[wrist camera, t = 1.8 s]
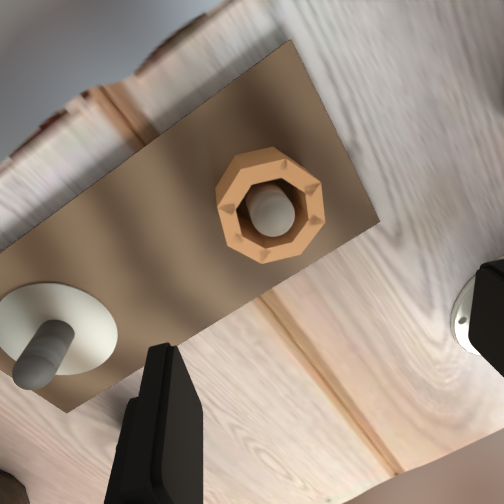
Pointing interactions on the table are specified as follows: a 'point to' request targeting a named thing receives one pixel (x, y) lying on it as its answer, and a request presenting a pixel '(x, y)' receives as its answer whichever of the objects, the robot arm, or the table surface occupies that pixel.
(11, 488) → the pitcher
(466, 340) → the robot arm
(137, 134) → the table surface
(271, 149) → the collar
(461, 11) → the table surface
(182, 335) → the board
